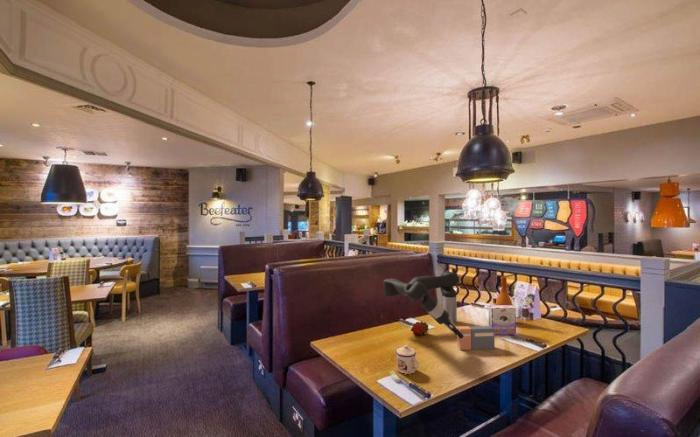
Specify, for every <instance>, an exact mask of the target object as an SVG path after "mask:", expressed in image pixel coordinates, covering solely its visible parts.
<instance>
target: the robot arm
mask: <svg viewBox="0 0 700 437" xmlns="http://www.w3.org/2000/svg"><path fill="white" fill-rule="evenodd" d="M459 282H460V277H459V275H457V273H455V272H453V271H449V270H444V271H442V272H441V274H440V275H439V276H438V275H422V276H415V277H413V278H412V279H411V280H410V281H409V282H407V283H406V282H402V281H401V280H399V279H397V278H392V277H390V278H385V279H384V280H383V281H382V286H383V287H382V288H383V294H384V296H385V297H386V298H394V297H399V296H404V297H407V298H408V299H410V301H412V302H417V301H419V300H420V299H421V301H420V306H421V307H422V308H423V310H425V312H427V313H428V315H429V316H430V317H432V318H433V319H434V321H435V322H436V323H438V324H439V325H443V324H444V326H445V327H446V328H447V329H449V331H451V332H453V333H454V335H455V336H458V337H459V338H460V339H462V338H463V337H464V336H463V335H462V334H461V333H460V331H459V330H458V329H457V325H456V324H457V323H458V320H457V319H458V318H457V317H458V315H457V304H458V303H457V291H456V290H455V288H454V287H455V286H457V285H458V284H459ZM439 288H440V293H441V304H439V303H438V302H437V301H436V300H435V299H434V298H433V297H432V296H431V294H430V293H429V290H430V291H431V290H435V289H439ZM421 297H422V298H421Z"/></svg>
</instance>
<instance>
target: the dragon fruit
mask: <svg viewBox="0 0 700 437" xmlns="http://www.w3.org/2000/svg"><path fill="white" fill-rule="evenodd" d="M410 332H412V334H413V335H414V334H415V336H419V335H420V337H422V336H424V335H425V334H427V333H429V324H428V323H427V322H423V321H422V320H420V321H416V322H414V323H413V324H412V327H411V329H410Z"/></svg>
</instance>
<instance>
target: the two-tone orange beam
mask: <svg viewBox="0 0 700 437" xmlns="http://www.w3.org/2000/svg"><path fill="white" fill-rule="evenodd" d="M470 327H471V326H467V325H466V326H463V325H462V326H456V328H457V329H458V330H459V331H460V333H461V334H462V335H463V336H464V337H463V338H462V339H460V338H459V337H458V336H457V335H456V336H457V337H456V339H457V341H456V342H457V348H458V349H459V351H463V350H464V351H465V350H467V351H468V350H471V328H470ZM471 351H472V350H471Z"/></svg>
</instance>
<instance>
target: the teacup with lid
mask: <svg viewBox="0 0 700 437" xmlns="http://www.w3.org/2000/svg"><path fill="white" fill-rule="evenodd" d="M395 353H396V370H398V371H399V372H401V373H405V374H404V375H406V374H409V375H412V374H411V373H413V374H415V373H416V370H418V369H419V367H420V363H419V361H418V359H417V358H416V353H417V352H416V350H415V349H414V348H412V347H409V345H407V344H405V345H403V346H401V347H398V348H397V349H396V350H395ZM398 371H397V372H398ZM399 372H398V373H399ZM401 373H400V374H401Z"/></svg>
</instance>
